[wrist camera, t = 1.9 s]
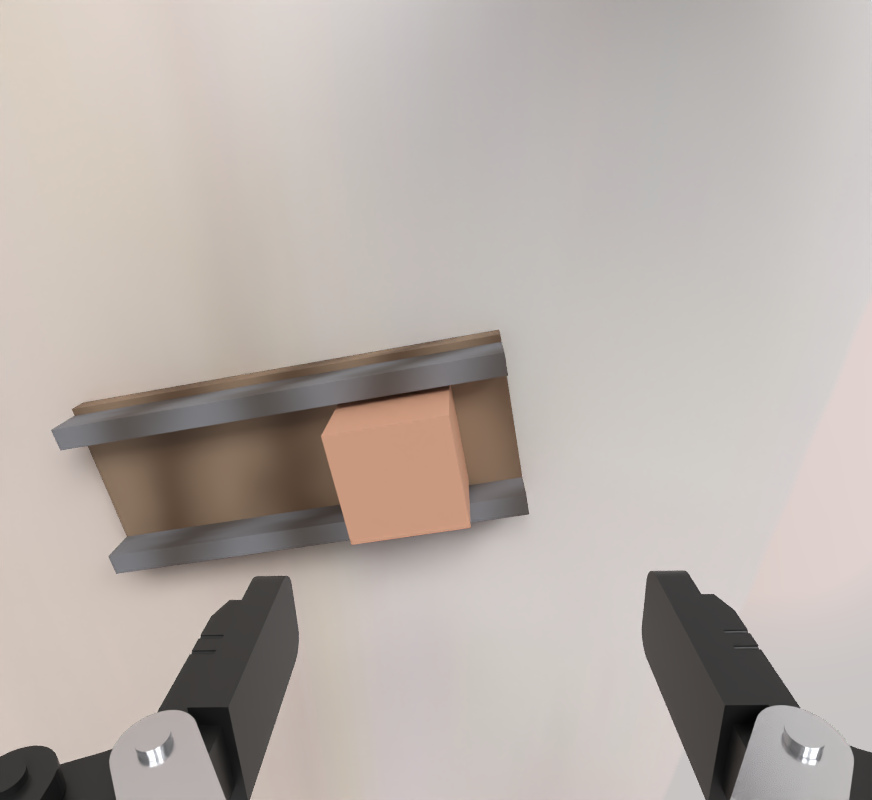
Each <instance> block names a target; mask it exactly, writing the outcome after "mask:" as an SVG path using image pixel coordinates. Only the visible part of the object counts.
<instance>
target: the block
mask: <svg viewBox="0 0 872 800" xmlns="http://www.w3.org/2000/svg"><path fill="white" fill-rule="evenodd" d="M321 438H322V442H323V445H324V449H325V452H326V456H327V459H328V463H329V467H330V470H331V474H332V477H333V481H334V484H335V488H336V492H337V495H338V499H339V502H340V506H341V509H342V513H343V517H344V520H345V524H346V527H347V531H348V534H349V538H350V542H351V545H354V544H361V543H368V542H375V541H382V540H389V539H396V538H403V537H410V536H417V535H424V534H431V533H438V532H445V531H452V530H459V529H466V528H471V525H470V500H469V478H468V473H467V468H466V463H465V457H464V452H463V447H462V441H461V436H460V431H459V426H458V420H457V415H456V410H455V405H454V399H453V394H452V389H451V385H448V386H442V387H436V388H430V389H424V390H418V391H412V392H406V393H400V394H394V395H388V396H382V397H376V398H370V399H364V400H358V401H353V402H347V403H341V404H338V405H337V407H336V409H335V411H334V413H333V415H332V417H331V418H330V420H329V422H328V424H327V426H326V428H325V429H324V431H323V433H322V435H321Z"/></svg>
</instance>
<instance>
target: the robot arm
mask: <svg viewBox="0 0 872 800" xmlns="http://www.w3.org/2000/svg"><path fill="white" fill-rule="evenodd" d="M642 640H643V646H644V651H645V654H646V657H647V660H648V662H649V665H650V667H651V670H652V672H653V674H654V677H655V679H656V682H657V684H658V686H659V689H660V691H661V694H662V696H663V698H664V701H665V703H666V706H667V708H668V710H669V713H670V715H671V718H672V720H673V722H674V725H675V727H676V730H677V732H678V734H679V737H680V739H681V742H682V744H683V746H684V749H685V751H686V754H687V756H688V758H689V761H690V763H691V765H692V768H693V770H694V773H695V775H696V777H697V780H698V782H699V785H700V787H701V789H702V792H703V794H704V797H705V799H706V800H872V753H871V752H867V751H864V750H861V749H857V748H855V747H852V746H850V745H849V744H848V743H847V741H846V740H845V738H844V737H843V736H842V735H841V734H840V732H839V731H838V730H836V729H835V728H834V727H833V726H832V725H831V724H829V723H828V722H827V721H825V720H824V719H822V718H820V717H819V716H817V715H815V714H813V713H811V712H809V711H806V710H803V709H800V707H799V705H798V704H797V702H796V701H795V700H794V698H793V696H792V695H791V693H790V692H789V690H788V689H787V687H786V686H785V685H784V683H783V682H782V680H781V679H780V677H779V676H778V674H777V673H776V671H775V670H774V668H773V667H772V665H771V664H770V662H769V661H768V659H767V658H766V656H765V655H764V653H763V652H762V650H759V648H758V644H757V643H756V641H755V640H754V638H753V637H752V636H751V634H750V633H748V631H747V628H746V627H745V625H744V624H743V622H742V621H741V619H740V618H739V616H738V615H737V613H736V612H735V610H733V609H732V608H731V607H729V606H728V605H727V604H726V603H724V602H723V601H722V600H721V599H719V598H718V597H717V596H715V595H714V594H701V593H700V591H699V590H698V588H697V587H696V585H695V583H694V582H693V580H692V579H691V577H690V575H689V574H688V573H687V572H686V571H650V572H649V573H648V576H647V582H646V592H645V602H644V611H643V621H642ZM298 644H299V631H298V624H297V617H296V610H295V604H294V597H293V590H292V584H291V580H290V578H289V577H288V576H258V577H254V578H253V579H252V581H251V583H250V585H249V587H248V589H247V591H246V593H245V595H244V597H243V599H242V600H229V601H228V602H227V603H226V604H225V605H224V606H223V607H221V608H220V609H219V610H218V611H217V612H216V613H215V614H214V615H212V616H211V618H210V620H209V621H208V623H207V625H206V627H205V629H204V630H203V632H202V634H201V638H200V639H198V641H197V643H196V644H195V646H194V648H193V650H192V654H190V655H189V657H188V659H187V660H186V662H185V664H184V666H183V668H182V669H181V671H180V673H179V675H178V676H177V678H176V680H175V682H174V684H173V685H172V687H171V689H170V691H169V692H168V694H167V696H166V698H165V700H164V701H163V703H162V705H161V707H160V708H159V710H158V712H157V713H154V714H152V715H149V716H147V717H145V718H143V719H141V720H140V721H138V722H137V723H135V724H134V725H132V726H131V727H130V728H129V729H128V730H126V732H125V733H124V734H123V735H122V736H121V737H120V738H119V740H118V741H117V742H116V744H115V746H114V747H113V749H111V750H108V751H105V752H102V753H99V754H95V755H92V756H88V757H85V758H81V759H78V760H74V761H71V762H67V763H64V764H59V761H58V758H57V756H56V754H55V752H54V751H53V750H52V749H50V748H48V747H44V746H29V747H24V748H20V749H17V750H14V751H11V752H9V753H7V754H5V755H3V756H1V757H0V800H250V797H251V794H252V791H253V788H254V785H255V782H256V779H257V776H258V773H259V770H260V767H261V764H262V761H263V758H264V755H265V752H266V749H267V746H268V743H269V740H270V737H271V734H272V731H273V728H274V725H275V722H276V719H277V716H278V713H279V710H280V707H281V704H282V701H283V698H284V695H285V692H286V689H287V685H288V682H289V679H290V676H291V673H292V670H293V667H294V664H295V661H296V658H297V653H298Z"/></svg>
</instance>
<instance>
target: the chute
mask: <svg viewBox="0 0 872 800" xmlns="http://www.w3.org/2000/svg"><path fill="white" fill-rule="evenodd" d="M507 376H508V373H507V367H506V360H505V354H504V350H503V346H502V343H501V337H500V332H499V330H496V331H490V332H484V333H478V334H473V335H467V336H461V337H456V338H450V339H444V340H439V341H433V342H427V343H421V344H416V345H410V346H404V347H399V348H393V349H387V350H382V351H376V352H370V353H364V354H359V355H353V356H347V357H342V358H336V359H330V360H324V361H319V362H313V363H307V364H302V365H296V366H290V367H285V368H279V369H273V370H267V371H262V372H256V373H250V374H245V375H239V376H233V377H228V378H222V379H216V380H210V381H205V382H199V383H193V384H188V385H182V386H176V387H171V388H165V389H159V390H153V391H148V392H142V393H136V394H131V395H125V396H119V397H114V398H108V399H102V400H96V401H91V402H85V403H82V404H80V405H78V406H77V407H75V408H73V409H72V411H73V413H74V415H75V416H74V417H72V418H70V419H69V420H67V421H65V422H64V423H62V424H60V425H59V426H57V427H56V428H54V429H52V430H51V431H52V433H53V435H54V437H55V439H56V442H57V444H58V446H59V448H60V450H66V449H72V448H78V447H84V446H88V447H89V450H90V452H91V454H92V457H93V459H94V461H95V464H96V466H97V468H98V470H99V473H100V475H101V477H102V480H103V482H104V484H105V487H106V489H107V491H108V494H109V496H110V498H111V500H112V503H113V505H114V507H115V510H116V512H117V514H118V517H119V519H120V521H121V523H122V526H123V528H124V530H125V533H126V535H127V537H126V538H125V539H124V540H123V542H122V543H121V544H120V545H119V546H118V547H117V548H116V549H115V550H114V551H113V552H112V553H111V554H110V555H109V559H110V561H111V563H112V565H113V567H114V570H115V572H116V574H118V573H124V572H131V571H138V570H145V569H152V568H159V567H166V566H173V565H180V564H187V563H194V562H201V561H208V560H215V559H222V558H229V557H236V556H243V555H249V554H256V553H263V552H270V551H277V550H284V549H291V548H298V547H305V546H312V545H319V544H326V543H333V542H340V541H347V540H350V538H349V534H348V531H347V527H346V524H345V520H344V517H343V513H342V509H341V506H340V502H339V499H338V495H337V492H336V488H335V484H334V481H333V477H332V474H331V470H330V467H329V463H328V459H327V456H326V452H325V449H324V445H323V442H322V438H321V435H322V433H323V431H324V429H325V428H326V426H327V424H328V422H329V420H330V418H331V417H332V415H333V413H334V411H335V409H336V407H337V405H338V404H341V403H347V402H353V401H358V400H364V399H370V398H376V397H382V396H388V395H394V394H400V393H406V392H412V391H418V390H424V389H430V388H436V387H442V386H448V385H451V389H452V394H453V399H454V405H455V410H456V415H457V420H458V426H459V431H460V436H461V441H462V447H463V452H464V457H465V463H466V468H467V473H468V478H469V500H470V523H472V522H479V521H486V520H493V519H499V518H506V517H513V516H520V515H527V514H529V510H528V504H527V497H526V492H525V488H524V483H523V479H522V473H521V466H520V460H519V453H518V447H517V440H516V434H515V427H514V421H513V415H512V408H511V402H510V395H509V389H508V382H507Z"/></svg>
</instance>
